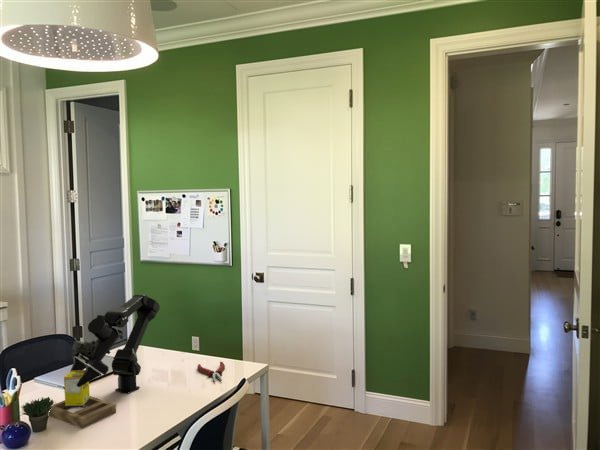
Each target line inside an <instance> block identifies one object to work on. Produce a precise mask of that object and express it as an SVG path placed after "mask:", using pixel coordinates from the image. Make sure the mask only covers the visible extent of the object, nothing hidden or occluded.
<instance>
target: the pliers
mask: <svg viewBox="0 0 600 450" xmlns="http://www.w3.org/2000/svg"><path fill="white" fill-rule="evenodd" d="M196 367H197V371H198V372H199V373H201V374H202V375H206V376H207V377H208V378H212V381H213V382H214V383H216V378H217V380H218V381H221V382H223V380H222V376H223V372H224V370H225V369H226V365H225V363H224V362H223V361H219V367H218V368H217V369H216V370H211V369H209V368H205V367H203V366H202V365H201V363H199V364H198V365H197V366H196Z"/></svg>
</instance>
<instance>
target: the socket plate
mask: <svg viewBox="0 0 600 450" xmlns="http://www.w3.org/2000/svg"><path fill="white" fill-rule="evenodd" d="M89 396H90V400H89V401H88V402H87V403H86V404H85V406H86V407H82V409H78V410H77V411H74V412H72V411H69V410H70V409H71V408H65V399H64V400H62V401H59V402H56V403H55V404H53V405H54V406H53V407H52V409H51V410H50V412H49V416H48V417H50V418H53V419H55V420H58V421H61V422H63V423H67V424H70V425H72V426H74V427H78V428H80V429H84V428H86V427H88V426H91V425H93V424H95V423H97V422H99V421H101V420H103V419H105V418H108V417H109V416H112V415H114V414H116V413H117V403H113V402H112V401H107V400H105V399H101V398H98V397H95V396H91V395H89Z"/></svg>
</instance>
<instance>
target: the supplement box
mask: <svg viewBox="0 0 600 450" xmlns="http://www.w3.org/2000/svg"><path fill="white" fill-rule="evenodd" d="M85 371H86V369H84V370H72V371H71V370H70V371H69V372H68V373H67V374H66V375H64V378H63V382H64V383H63V384H64V400H65V408H70V409H73V408H76V409H78V408H85V406H86V405H85V404H86V403H87V402H88V401H89V400H90V396H91V395H90V381H89V382H87V383H85V384H84V385H82V386H80V387H77V386H76V385H77V383H78V382H79V380H80V378H81V377H82V375H83V374H84V372H85Z"/></svg>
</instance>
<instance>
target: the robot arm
mask: <svg viewBox="0 0 600 450" xmlns="http://www.w3.org/2000/svg"><path fill="white" fill-rule="evenodd" d="M160 308H161V307H160V304H159V302H158V301H157V300H155V299H153V298H150V297H149V296H148V295H146V294H134V295H133V296H132V297H131V298H129V300H127V301H126V302H125V303H124V304H121V306H120V307H117V308H112V309H110V310H108V311H106V312H105V314H104V315H103V314H101V315H99V314H97V316H96V318H94V319H92V320H91V321H90V322H89V323H88V325H87V330H88V332H89V333H90V334H92V335H93V336H94V337H96V340H91V341H90V342H88V341H79V340H74V342H73V344H72V347H71V351H72V352H71V354H72V361H73V362H72V363H73V364H72V366H71V368H70V371H72V370H86V371H85V372H84V374H83V375H82V377H81V378H80V380H79V382H78V383H77V385H76V386H77V387H80V386H82V385H84V384H85V383H87V382H89V383H90V382H91V381H92V380H94V379H96V378H98V377H101V376H102V374H103V375H104V376H105V375H107V373H108V372H109V366H108V365H107V364H105V363H104V362H103V361H102V360H103V359H104V358H105V356H106V355H110V354H111V351H110V350H111V349H112V347H113V346H114V345H115V343H116V342H117V341H118V340H119V339H120V340H123V336H124V335H123V331H122V330H120V329H116V328H124V327H125V326H126V325H127V323H128V322H129V320H130V319H129V318H130V317H131V316H132V315H133V314H134V313H135V312H136V316H137V317H136V319H135V322H134V324H133V327H132V328H131V331H130V333H129V336H128V339H127V340H126V343H125V345H124V347H123V348H122V349H121V348H119V349H117V350H116V352H115V354H114V356H113V360H112V362H111V370H112V372H113V376H118V377H117V387H118V388H115V392H119V393H122V394H125V395H127V394H129V393H132V392H134V391H137V390H139V389H140V388H141V387H140V386H137V376H139V375H140V373H141V369H142V368H141V365H140V364H139V362H138V361H139V359H138V355H137V352H138V349H139V347H140V344H141V342H142V339H143V337H144V335H145V333H146V330H147V328H148V325H149V322H151V321H152V320H154V319H155V318H156V316H157V314H158V313H159V311H160Z"/></svg>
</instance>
